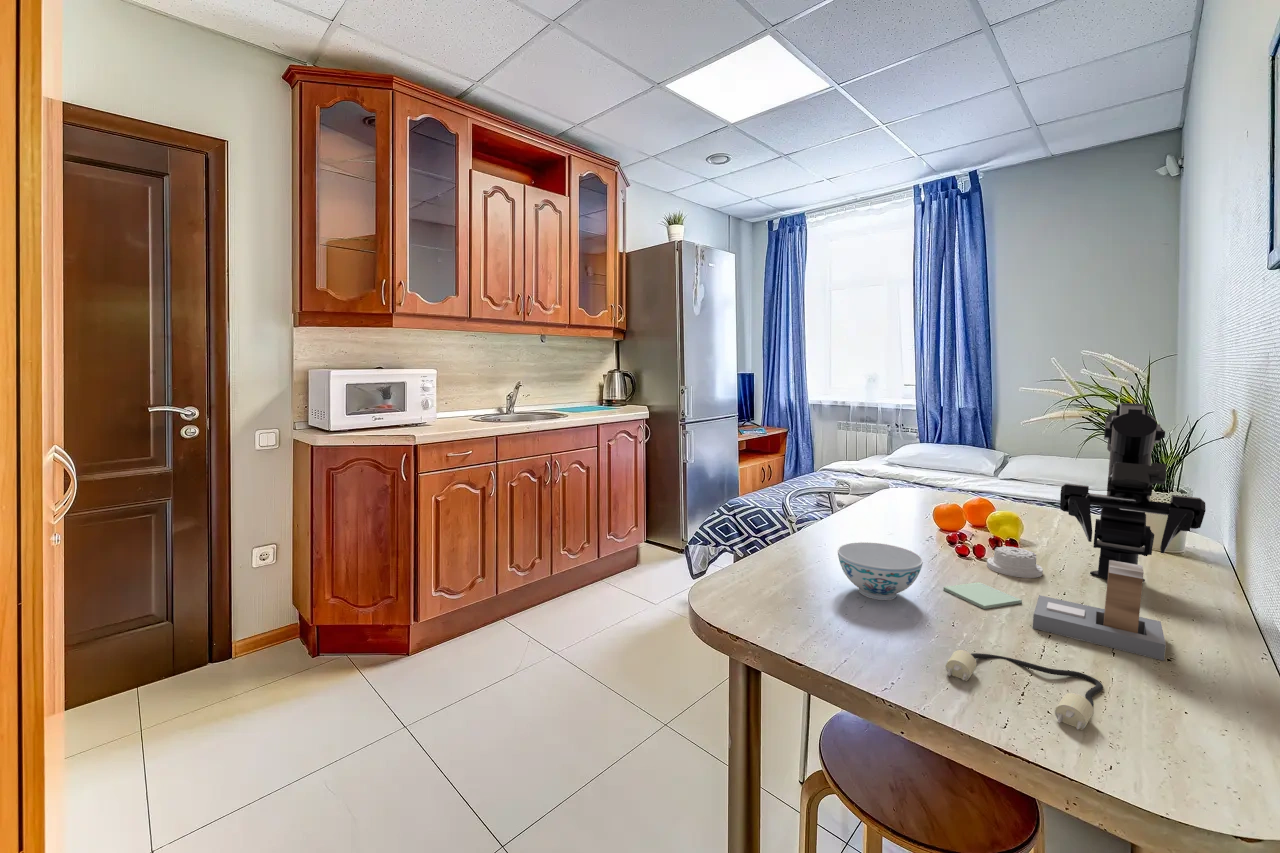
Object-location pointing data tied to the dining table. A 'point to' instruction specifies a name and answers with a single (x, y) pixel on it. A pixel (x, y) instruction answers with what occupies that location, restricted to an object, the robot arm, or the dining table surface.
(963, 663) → the cable
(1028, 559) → the mechanical component
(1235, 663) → the dining table surface
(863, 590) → the chinaware
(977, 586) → the mat
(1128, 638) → the socket block
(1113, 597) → the plug
